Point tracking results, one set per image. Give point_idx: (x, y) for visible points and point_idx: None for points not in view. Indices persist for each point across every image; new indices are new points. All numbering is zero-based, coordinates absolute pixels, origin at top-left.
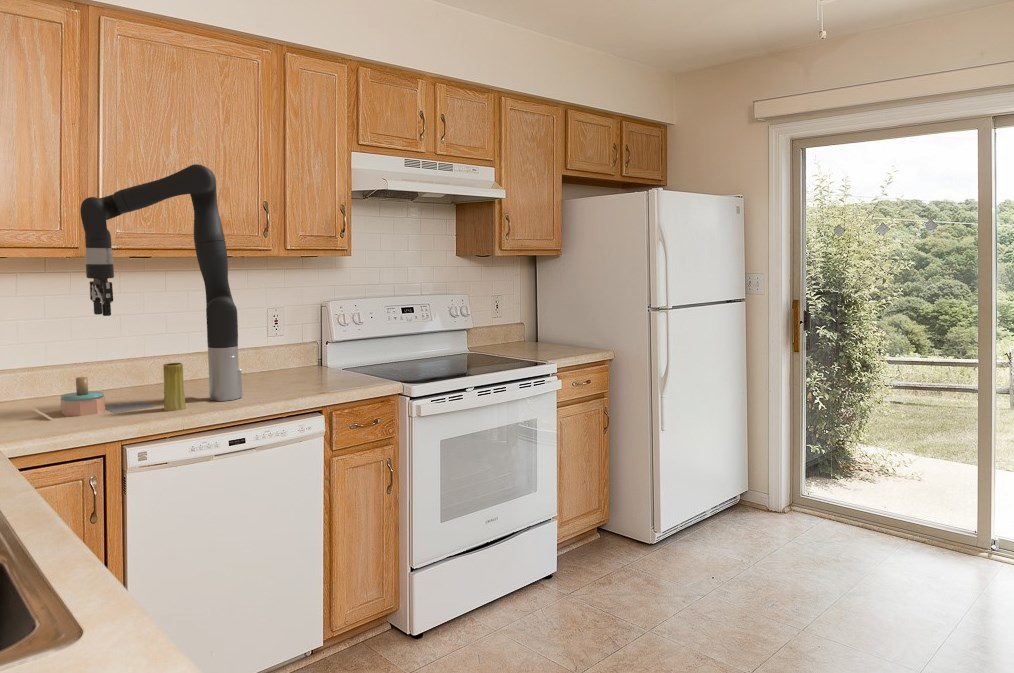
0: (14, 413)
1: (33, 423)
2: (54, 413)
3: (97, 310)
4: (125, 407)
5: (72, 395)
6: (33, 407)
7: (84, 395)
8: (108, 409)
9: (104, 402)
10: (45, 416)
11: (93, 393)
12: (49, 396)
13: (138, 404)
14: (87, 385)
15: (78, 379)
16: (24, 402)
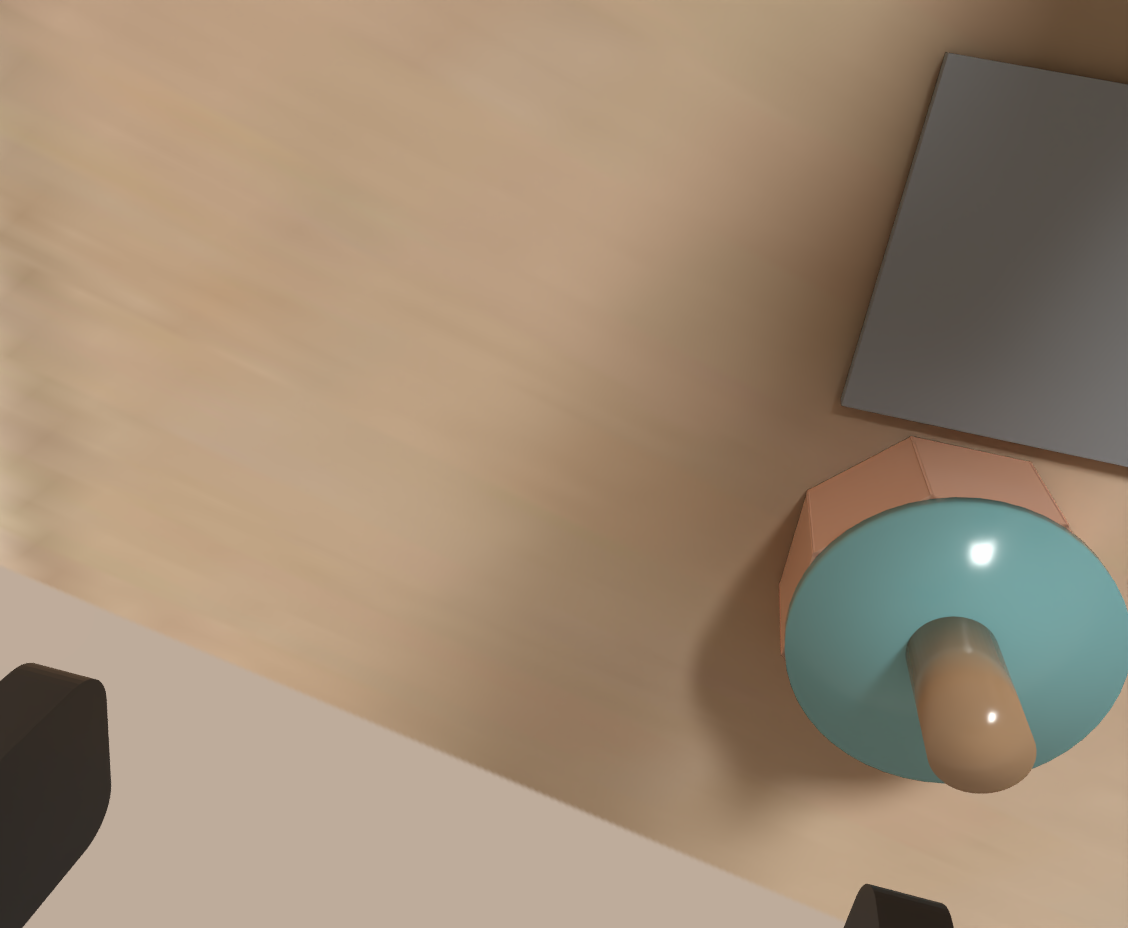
0: (500, 750)
1: (918, 846)
2: (714, 647)
3: (31, 847)
4: (1081, 311)
5: (914, 709)
6: (383, 610)
7: (1008, 667)
8: (1020, 434)
9: (1052, 500)
10: (764, 718)
11: (986, 584)
12: (15, 355)
13: (1066, 164)
14: (1011, 681)
15: (1003, 784)
16: (152, 554)
